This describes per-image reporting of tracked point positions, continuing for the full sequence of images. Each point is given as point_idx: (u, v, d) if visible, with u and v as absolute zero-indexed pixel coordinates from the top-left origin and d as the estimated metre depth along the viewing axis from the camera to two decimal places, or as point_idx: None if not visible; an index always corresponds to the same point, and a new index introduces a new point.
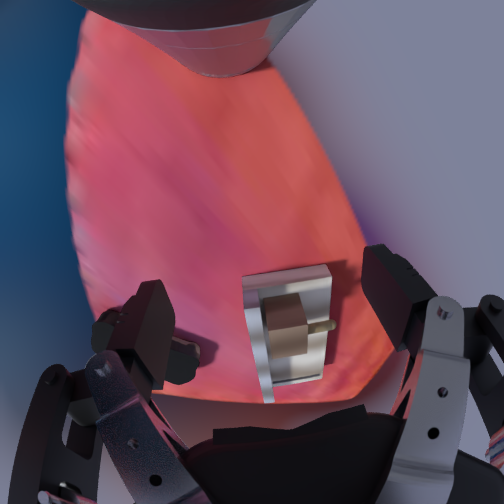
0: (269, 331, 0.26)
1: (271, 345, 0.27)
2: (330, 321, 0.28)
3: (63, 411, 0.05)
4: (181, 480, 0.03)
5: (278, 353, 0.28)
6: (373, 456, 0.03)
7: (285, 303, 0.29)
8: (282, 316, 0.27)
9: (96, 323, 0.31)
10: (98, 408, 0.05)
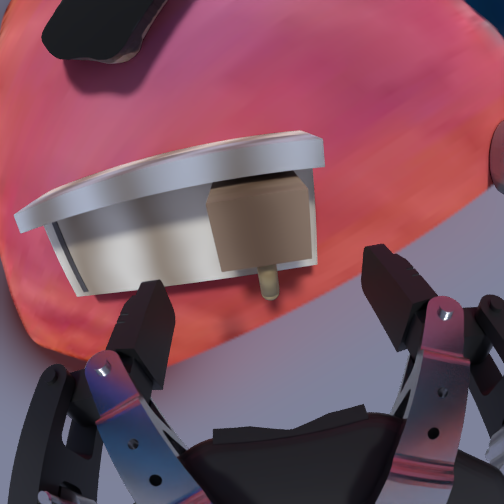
0: (306, 190, 0.13)
1: (258, 197, 0.13)
2: None
3: (63, 411, 0.05)
4: (181, 480, 0.03)
5: (227, 215, 0.13)
6: (373, 456, 0.03)
7: None
8: None
9: None
10: (98, 408, 0.05)
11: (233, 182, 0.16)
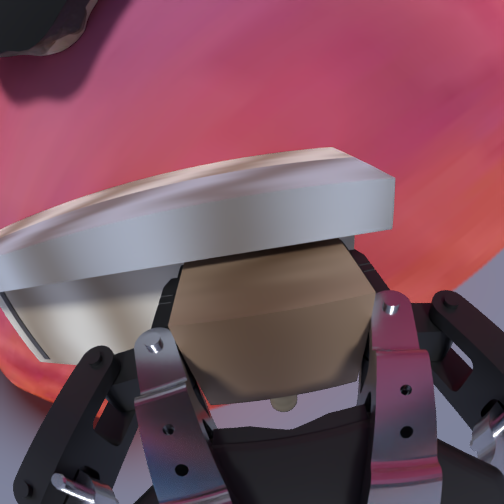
0: (371, 296, 0.06)
1: (277, 315, 0.06)
2: None
3: (101, 397, 0.05)
4: (181, 480, 0.03)
5: (214, 343, 0.06)
6: (349, 465, 0.03)
7: None
8: None
9: None
10: (141, 385, 0.05)
11: None
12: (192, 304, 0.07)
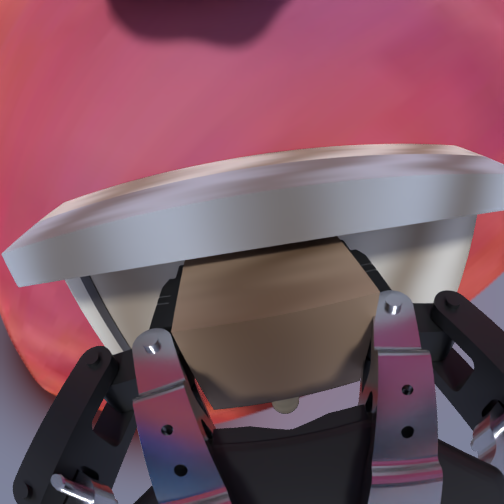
0: (375, 296, 0.06)
1: (282, 317, 0.06)
2: None
3: (99, 397, 0.05)
4: (181, 480, 0.03)
5: (218, 347, 0.06)
6: (350, 465, 0.03)
7: None
8: None
9: None
10: (139, 386, 0.05)
11: (224, 255, 0.09)
12: (195, 308, 0.07)
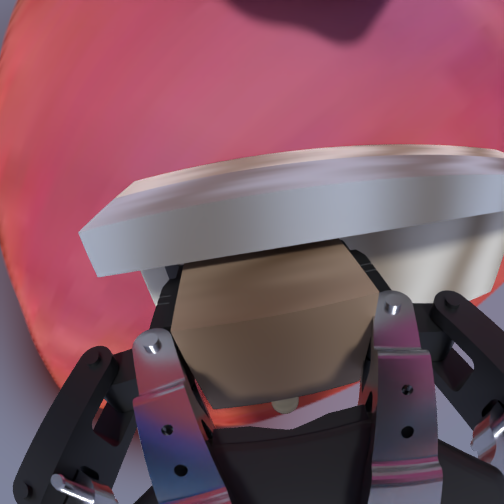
0: (374, 296, 0.06)
1: (281, 317, 0.06)
2: None
3: (99, 397, 0.05)
4: (181, 480, 0.03)
5: (217, 347, 0.06)
6: (350, 465, 0.03)
7: None
8: None
9: None
10: (139, 386, 0.05)
11: None
12: (194, 308, 0.07)
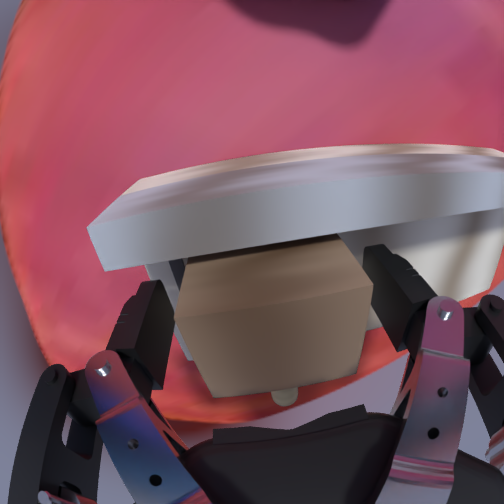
0: (369, 288, 0.06)
1: (279, 306, 0.06)
2: (297, 390, 0.11)
3: (63, 411, 0.05)
4: (181, 480, 0.03)
5: (218, 334, 0.07)
6: (373, 456, 0.03)
7: None
8: None
9: None
10: (98, 408, 0.05)
11: None
12: (197, 297, 0.07)
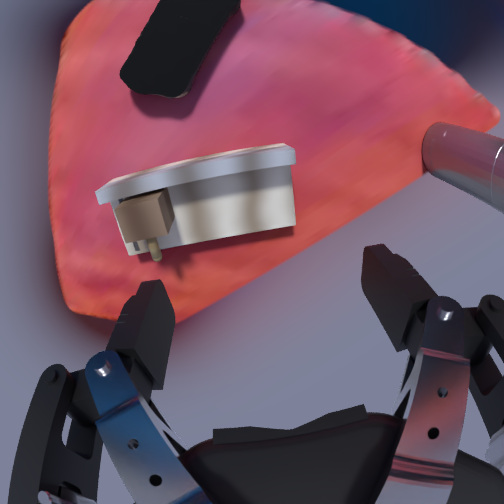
0: (156, 200, 0.25)
1: (135, 205, 0.25)
2: (161, 254, 0.30)
3: (63, 411, 0.05)
4: (181, 480, 0.03)
5: (123, 214, 0.26)
6: (373, 456, 0.03)
7: (169, 207, 0.29)
8: (164, 208, 0.28)
9: None
10: (98, 408, 0.05)
11: (133, 197, 0.28)
12: (120, 206, 0.26)
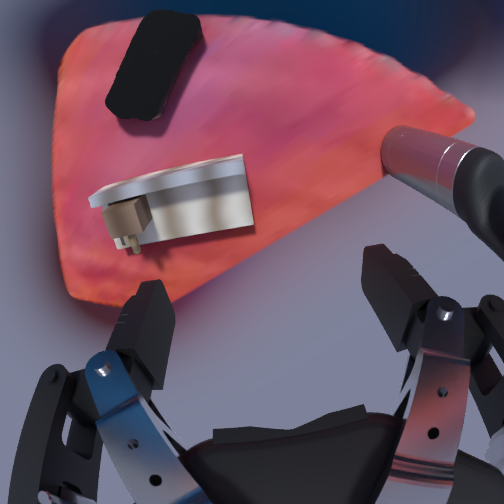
0: (133, 205, 0.31)
1: (117, 209, 0.31)
2: (140, 248, 0.36)
3: (63, 411, 0.05)
4: (181, 480, 0.03)
5: (109, 216, 0.32)
6: (373, 456, 0.03)
7: (146, 210, 0.36)
8: (141, 211, 0.34)
9: (197, 19, 0.24)
10: (98, 408, 0.05)
11: (118, 202, 0.34)
12: (107, 209, 0.32)
